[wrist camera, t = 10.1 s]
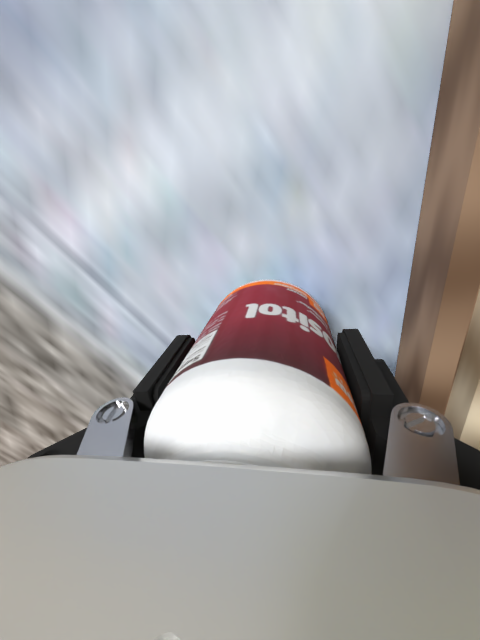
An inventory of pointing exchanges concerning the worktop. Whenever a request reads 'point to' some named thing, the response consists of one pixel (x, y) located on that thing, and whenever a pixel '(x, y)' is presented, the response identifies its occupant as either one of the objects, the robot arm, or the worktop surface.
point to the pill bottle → (261, 389)
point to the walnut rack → (446, 226)
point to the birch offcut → (467, 387)
